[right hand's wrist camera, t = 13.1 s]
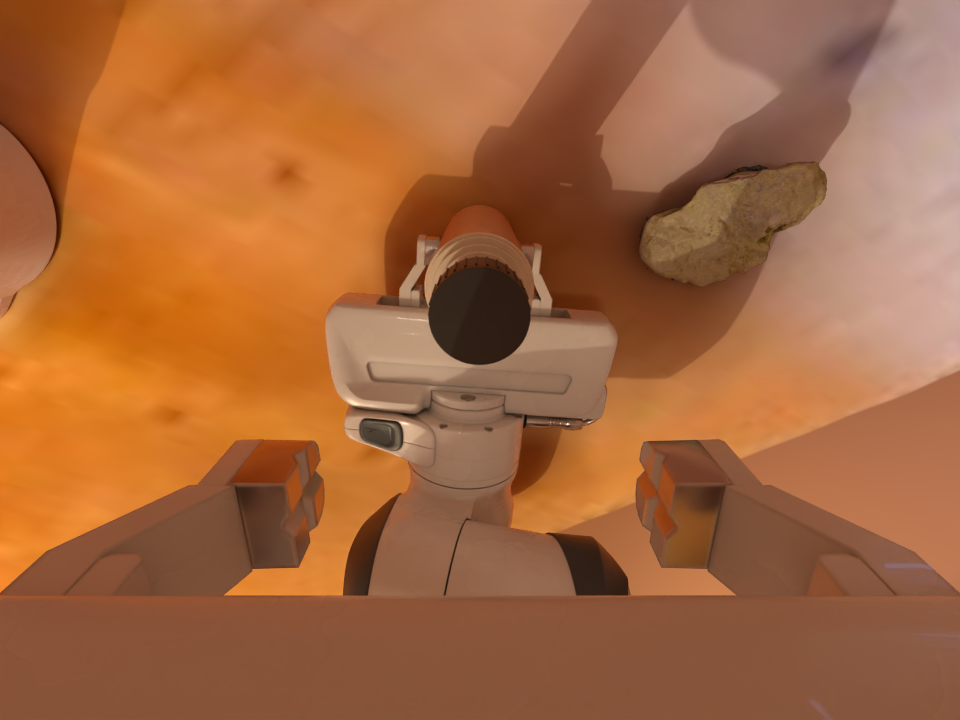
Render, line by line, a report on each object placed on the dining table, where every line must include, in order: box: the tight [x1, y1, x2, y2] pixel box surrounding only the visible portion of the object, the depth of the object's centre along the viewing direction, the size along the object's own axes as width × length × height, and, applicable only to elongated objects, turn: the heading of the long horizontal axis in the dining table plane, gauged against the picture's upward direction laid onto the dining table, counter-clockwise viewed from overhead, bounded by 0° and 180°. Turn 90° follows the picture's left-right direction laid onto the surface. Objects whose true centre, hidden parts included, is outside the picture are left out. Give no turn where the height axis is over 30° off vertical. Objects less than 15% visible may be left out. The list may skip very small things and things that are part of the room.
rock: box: [639, 162, 827, 287], centre depth 36 cm, size 11×6×10 cm
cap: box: [428, 256, 531, 365], centre depth 21 cm, size 4×4×2 cm
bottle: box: [424, 205, 534, 307], centre depth 30 cm, size 5×5×20 cm
